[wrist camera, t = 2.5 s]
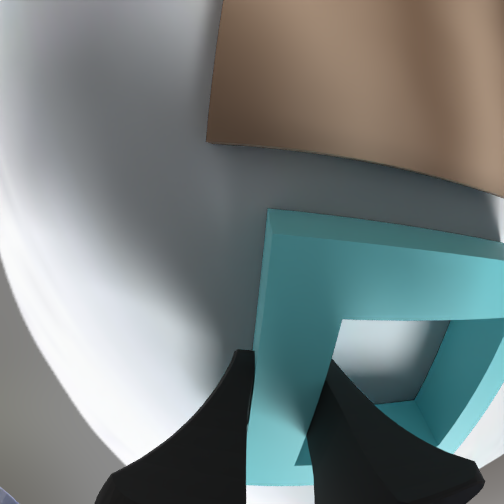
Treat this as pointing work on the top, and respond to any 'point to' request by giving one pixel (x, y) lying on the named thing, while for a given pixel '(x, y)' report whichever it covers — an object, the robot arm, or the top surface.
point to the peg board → (366, 83)
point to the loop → (368, 308)
